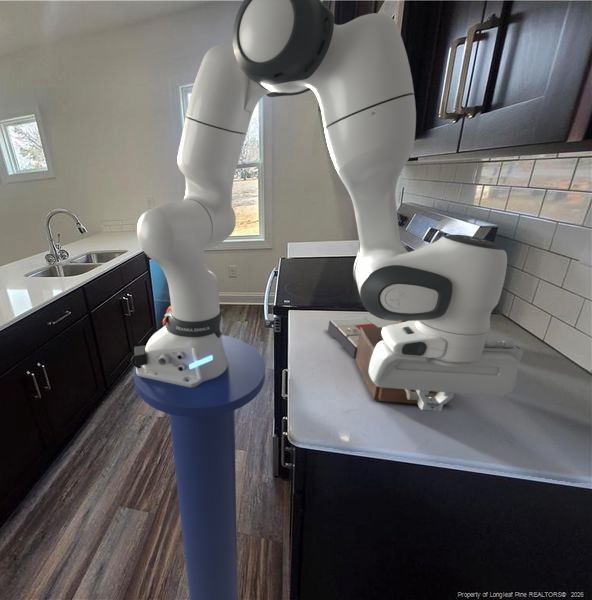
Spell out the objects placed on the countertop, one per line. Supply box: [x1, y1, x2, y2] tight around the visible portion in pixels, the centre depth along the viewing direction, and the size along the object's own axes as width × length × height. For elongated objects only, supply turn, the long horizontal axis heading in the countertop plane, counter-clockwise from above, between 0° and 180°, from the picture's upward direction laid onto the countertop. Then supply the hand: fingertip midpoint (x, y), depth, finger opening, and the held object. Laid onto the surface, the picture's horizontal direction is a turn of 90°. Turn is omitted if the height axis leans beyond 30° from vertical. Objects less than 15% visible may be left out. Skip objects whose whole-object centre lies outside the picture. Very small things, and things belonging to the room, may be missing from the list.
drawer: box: [378, 387, 447, 407], centre depth 64 cm, size 18×11×8 cm, turn 168°
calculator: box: [327, 317, 378, 360], centre depth 85 cm, size 11×4×15 cm
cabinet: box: [355, 326, 383, 402], centre depth 68 cm, size 15×13×10 cm
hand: (428, 408), depth 55 cm, fingers closed, pressing on drawer
